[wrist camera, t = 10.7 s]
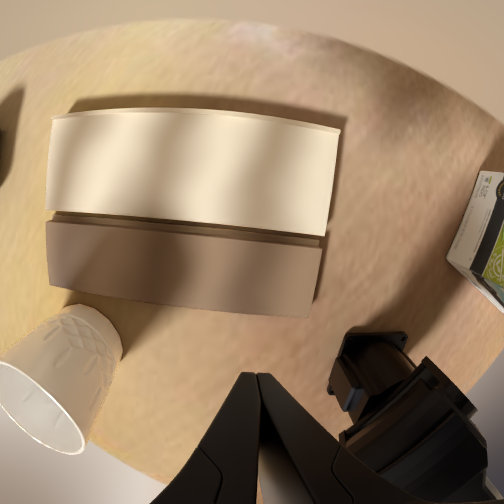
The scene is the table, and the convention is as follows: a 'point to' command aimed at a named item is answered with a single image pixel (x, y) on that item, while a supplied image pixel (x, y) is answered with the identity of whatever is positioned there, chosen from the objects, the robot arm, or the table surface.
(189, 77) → the table surface
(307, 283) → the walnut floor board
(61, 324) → the white cup
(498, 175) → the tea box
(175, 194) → the pale oak plank
